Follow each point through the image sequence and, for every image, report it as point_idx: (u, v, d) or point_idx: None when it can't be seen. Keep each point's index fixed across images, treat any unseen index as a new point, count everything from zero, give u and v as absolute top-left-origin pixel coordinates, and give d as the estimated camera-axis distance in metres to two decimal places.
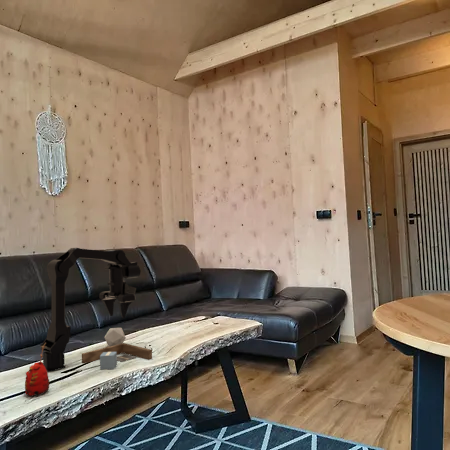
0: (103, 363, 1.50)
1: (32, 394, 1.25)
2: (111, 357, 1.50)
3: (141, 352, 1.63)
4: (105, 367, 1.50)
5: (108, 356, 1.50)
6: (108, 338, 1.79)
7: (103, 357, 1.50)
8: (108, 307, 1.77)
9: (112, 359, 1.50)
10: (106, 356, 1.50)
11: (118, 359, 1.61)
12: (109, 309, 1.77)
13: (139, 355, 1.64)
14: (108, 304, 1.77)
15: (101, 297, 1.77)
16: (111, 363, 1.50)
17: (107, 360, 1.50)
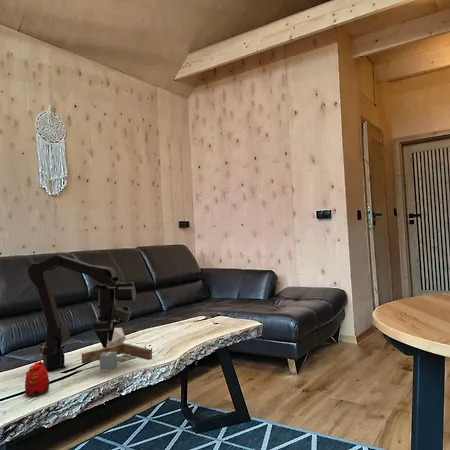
0: (103, 363, 1.50)
1: (32, 394, 1.25)
2: (111, 357, 1.50)
3: (141, 352, 1.63)
4: (105, 367, 1.50)
5: (108, 356, 1.50)
6: None
7: (103, 357, 1.50)
8: None
9: (112, 359, 1.50)
10: (106, 356, 1.50)
11: (118, 359, 1.61)
12: (107, 333, 1.57)
13: (139, 355, 1.64)
14: None
15: None
16: (111, 363, 1.50)
17: (107, 360, 1.50)
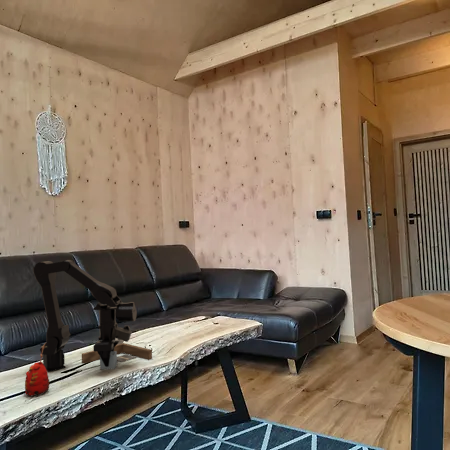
0: None
1: (32, 394, 1.25)
2: (111, 357, 1.50)
3: (141, 352, 1.63)
4: (105, 367, 1.50)
5: None
6: None
7: None
8: None
9: (112, 359, 1.50)
10: None
11: (118, 359, 1.61)
12: None
13: (139, 355, 1.64)
14: None
15: None
16: (111, 363, 1.50)
17: None
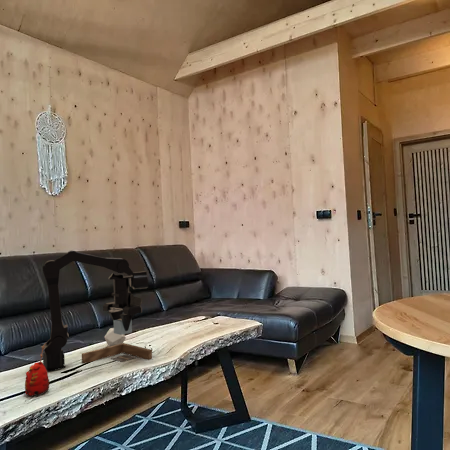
0: (123, 327, 1.61)
1: (32, 394, 1.25)
2: None
3: (141, 352, 1.63)
4: (125, 331, 1.61)
5: None
6: (108, 338, 1.79)
7: None
8: None
9: (130, 323, 1.63)
10: None
11: (118, 359, 1.61)
12: None
13: (139, 355, 1.64)
14: (115, 317, 1.64)
15: (105, 309, 1.66)
16: (129, 327, 1.63)
17: None
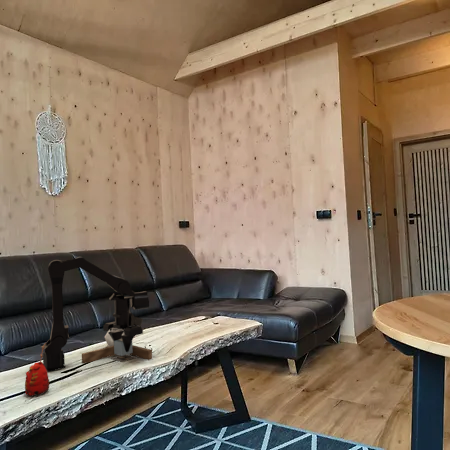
0: (124, 348, 1.61)
1: (32, 394, 1.25)
2: None
3: (141, 352, 1.63)
4: (125, 352, 1.61)
5: None
6: (108, 338, 1.79)
7: None
8: None
9: (131, 344, 1.63)
10: None
11: (118, 359, 1.61)
12: None
13: (139, 355, 1.64)
14: (115, 337, 1.65)
15: (105, 329, 1.66)
16: (130, 347, 1.63)
17: None
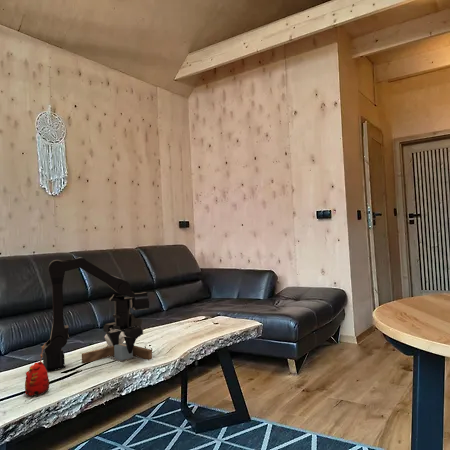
0: (124, 353, 1.61)
1: (32, 394, 1.25)
2: None
3: (141, 352, 1.63)
4: (126, 357, 1.61)
5: None
6: (108, 338, 1.79)
7: (124, 348, 1.61)
8: (113, 341, 1.66)
9: None
10: (126, 346, 1.62)
11: (118, 359, 1.61)
12: (114, 343, 1.66)
13: (139, 355, 1.64)
14: (113, 337, 1.66)
15: (105, 330, 1.66)
16: None
17: (127, 350, 1.62)
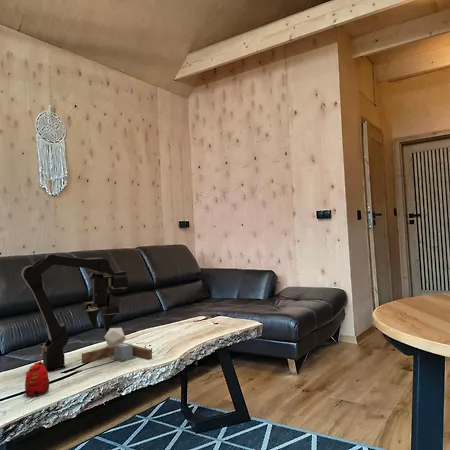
0: (124, 353, 1.61)
1: (32, 394, 1.25)
2: (130, 346, 1.63)
3: (141, 352, 1.63)
4: (126, 357, 1.61)
5: (128, 346, 1.62)
6: (108, 338, 1.79)
7: (124, 348, 1.61)
8: (91, 319, 1.65)
9: (131, 348, 1.63)
10: (126, 346, 1.62)
11: (118, 359, 1.61)
12: (92, 321, 1.66)
13: (139, 355, 1.64)
14: (91, 316, 1.66)
15: (84, 308, 1.66)
16: (130, 352, 1.63)
17: (127, 350, 1.62)
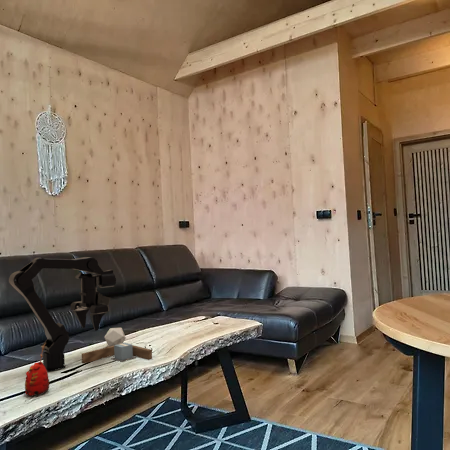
0: (124, 353, 1.61)
1: (32, 394, 1.25)
2: (130, 346, 1.63)
3: (141, 352, 1.63)
4: (126, 357, 1.61)
5: (128, 346, 1.62)
6: (108, 338, 1.79)
7: (124, 348, 1.61)
8: (80, 318, 1.65)
9: (131, 348, 1.63)
10: (126, 346, 1.62)
11: (118, 359, 1.61)
12: (81, 321, 1.65)
13: (139, 355, 1.64)
14: (80, 315, 1.65)
15: (72, 308, 1.66)
16: (130, 352, 1.63)
17: (127, 350, 1.62)
